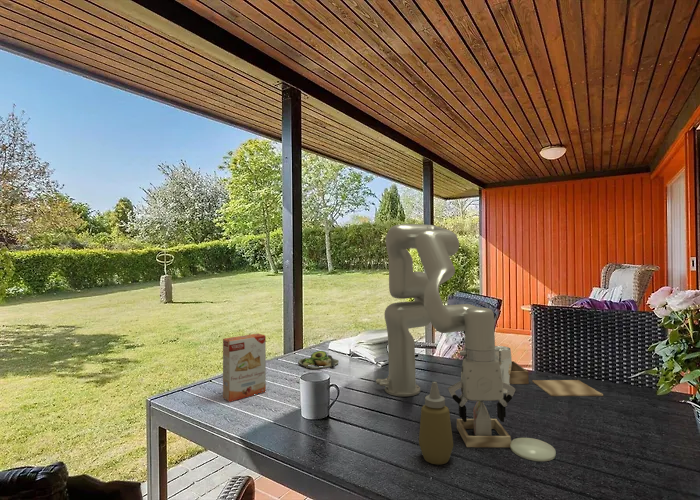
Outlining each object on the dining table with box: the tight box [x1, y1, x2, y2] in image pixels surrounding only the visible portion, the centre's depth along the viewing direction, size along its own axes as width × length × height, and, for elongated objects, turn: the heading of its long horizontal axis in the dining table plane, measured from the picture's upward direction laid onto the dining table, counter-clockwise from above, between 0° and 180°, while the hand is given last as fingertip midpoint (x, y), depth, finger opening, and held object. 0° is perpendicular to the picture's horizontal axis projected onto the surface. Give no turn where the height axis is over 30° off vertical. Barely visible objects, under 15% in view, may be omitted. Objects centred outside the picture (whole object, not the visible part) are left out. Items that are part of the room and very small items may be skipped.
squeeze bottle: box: [418, 381, 454, 465], centre depth 91 cm, size 8×8×18 cm
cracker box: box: [222, 333, 267, 403], centre depth 136 cm, size 14×6×21 cm, turn 131°
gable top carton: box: [472, 401, 493, 436], centre depth 101 cm, size 4×7×10 cm, turn 168°
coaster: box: [509, 437, 557, 462], centre depth 93 cm, size 10×10×1 cm
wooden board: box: [531, 379, 604, 397], centre depth 136 cm, size 17×15×1 cm
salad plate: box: [298, 350, 340, 370], centre depth 173 cm, size 19×18×5 cm
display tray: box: [510, 361, 530, 385], centre depth 148 cm, size 14×14×4 cm
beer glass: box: [495, 345, 513, 395], centre depth 135 cm, size 7×7×15 cm
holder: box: [456, 418, 512, 448], centre depth 101 cm, size 11×11×2 cm
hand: (482, 419), depth 101 cm, fingers open, 9 cm apart
